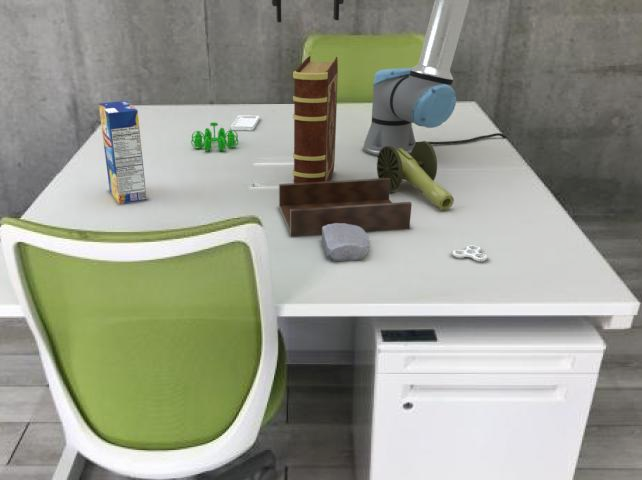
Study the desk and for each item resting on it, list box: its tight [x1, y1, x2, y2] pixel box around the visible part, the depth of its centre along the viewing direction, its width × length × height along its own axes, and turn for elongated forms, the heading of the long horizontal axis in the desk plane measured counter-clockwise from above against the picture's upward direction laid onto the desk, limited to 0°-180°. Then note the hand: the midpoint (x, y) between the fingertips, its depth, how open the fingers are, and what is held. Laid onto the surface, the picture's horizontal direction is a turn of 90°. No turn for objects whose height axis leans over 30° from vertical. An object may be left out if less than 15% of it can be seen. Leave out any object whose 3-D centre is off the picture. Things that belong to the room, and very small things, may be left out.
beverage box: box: [98, 100, 148, 205], centre depth 178 cm, size 7×11×22 cm, turn 24°
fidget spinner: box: [451, 244, 488, 262], centre depth 150 cm, size 7×6×1 cm
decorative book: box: [292, 55, 339, 183], centre depth 181 cm, size 22×8×30 cm, turn 168°
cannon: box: [376, 140, 455, 211], centre depth 179 cm, size 25×12×11 cm, turn 23°
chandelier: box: [190, 122, 239, 153], centre depth 219 cm, size 15×15×7 cm
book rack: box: [278, 177, 413, 237], centre depth 167 cm, size 27×18×6 cm, turn 98°
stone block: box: [321, 223, 371, 262], centre depth 152 cm, size 12×5×10 cm
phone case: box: [230, 114, 261, 131], centre depth 242 cm, size 7×1×15 cm
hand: (307, 20), depth 170 cm, fingers open, 13 cm apart
